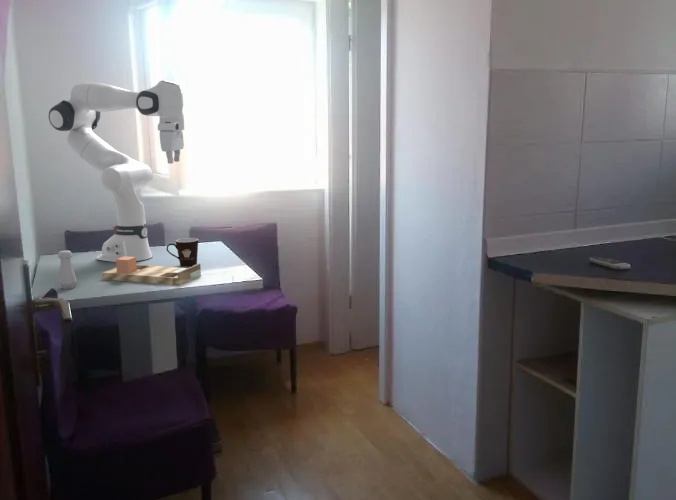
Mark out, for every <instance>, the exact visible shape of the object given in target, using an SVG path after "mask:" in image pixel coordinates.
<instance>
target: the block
mask: <svg viewBox="0 0 676 500" xmlns="http://www.w3.org/2000/svg"><path fill="white" fill-rule="evenodd" d="M137 265H138V264H137V261H136V257H126V256H124V257H121V258H118V259H116V262H115V268H116V269H117V273H125V274H129V273H132V272H135V271H137Z"/></svg>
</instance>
